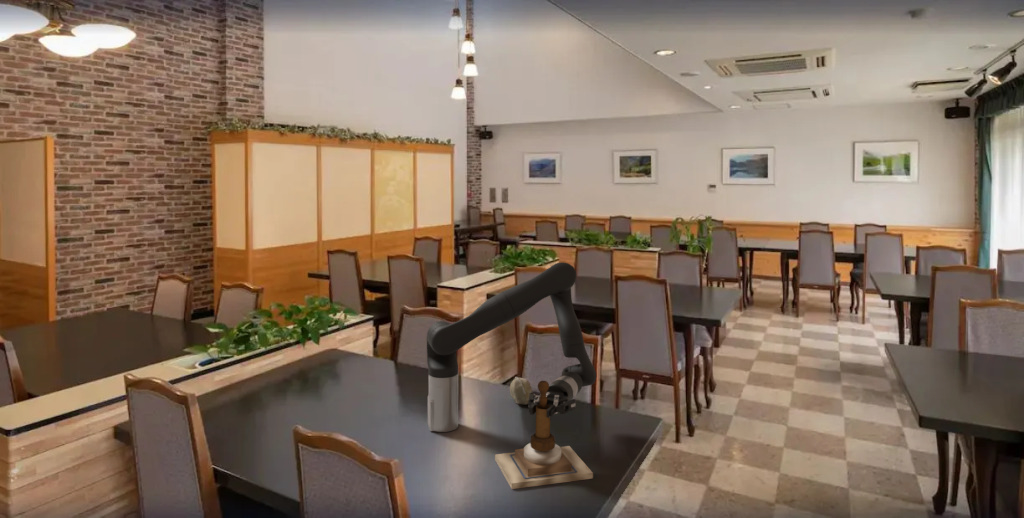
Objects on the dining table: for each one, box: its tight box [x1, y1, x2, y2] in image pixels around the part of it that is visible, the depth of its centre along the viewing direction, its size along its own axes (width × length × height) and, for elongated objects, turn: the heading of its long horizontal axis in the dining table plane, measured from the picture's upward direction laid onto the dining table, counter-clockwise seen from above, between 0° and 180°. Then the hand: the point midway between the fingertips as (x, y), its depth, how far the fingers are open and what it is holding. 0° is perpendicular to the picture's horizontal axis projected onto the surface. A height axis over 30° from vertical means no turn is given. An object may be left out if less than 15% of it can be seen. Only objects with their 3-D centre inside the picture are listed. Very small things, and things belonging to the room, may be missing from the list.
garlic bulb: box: [509, 376, 533, 405], centre depth 213 cm, size 9×8×10 cm
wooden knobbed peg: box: [530, 380, 556, 451], centre depth 162 cm, size 7×6×18 cm
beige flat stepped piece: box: [494, 442, 594, 490], centre depth 163 cm, size 22×17×6 cm
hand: (539, 412), depth 159 cm, fingers open, 4 cm apart
